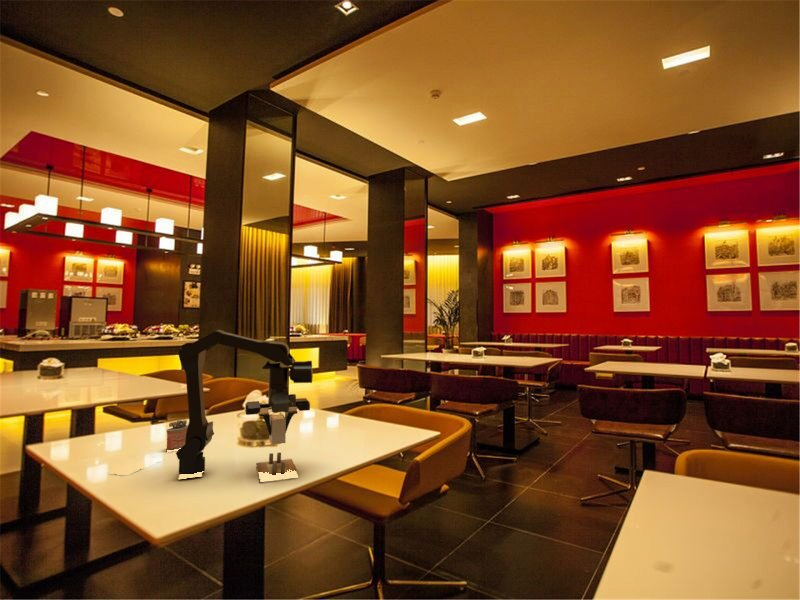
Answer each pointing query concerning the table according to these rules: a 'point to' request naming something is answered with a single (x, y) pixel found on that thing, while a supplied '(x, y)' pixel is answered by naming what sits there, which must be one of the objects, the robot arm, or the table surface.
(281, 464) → the pin tray
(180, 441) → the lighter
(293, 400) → the robot arm
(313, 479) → the table surface
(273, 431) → the block
